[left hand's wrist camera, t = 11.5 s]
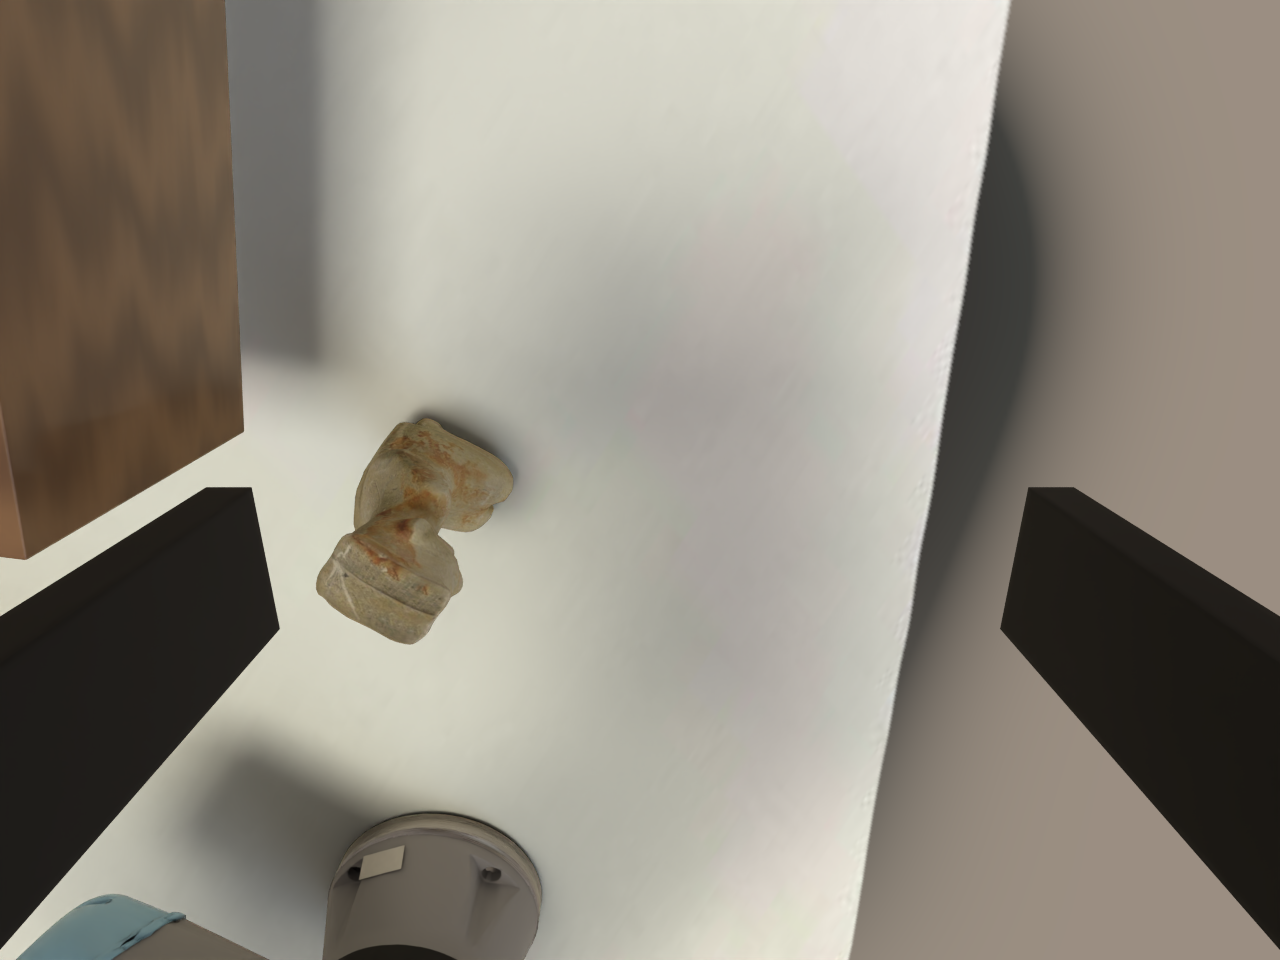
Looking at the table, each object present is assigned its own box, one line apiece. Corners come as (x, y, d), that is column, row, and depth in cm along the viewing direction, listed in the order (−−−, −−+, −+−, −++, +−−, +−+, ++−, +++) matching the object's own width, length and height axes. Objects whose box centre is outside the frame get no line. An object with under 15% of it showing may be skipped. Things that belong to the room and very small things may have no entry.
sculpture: (473, 534, 44) (394, 685, 30) (373, 461, 42) (240, 584, 28) (531, 465, 42) (477, 589, 28) (430, 387, 41) (319, 478, 27)
